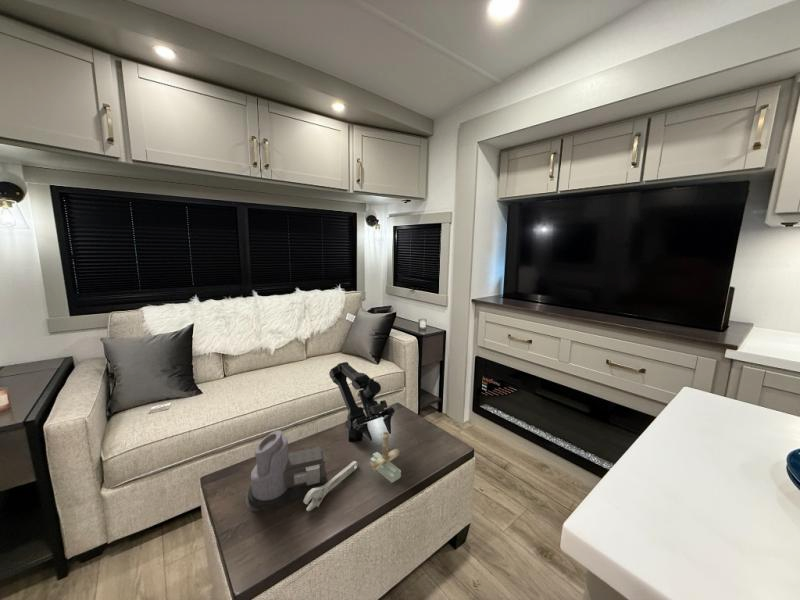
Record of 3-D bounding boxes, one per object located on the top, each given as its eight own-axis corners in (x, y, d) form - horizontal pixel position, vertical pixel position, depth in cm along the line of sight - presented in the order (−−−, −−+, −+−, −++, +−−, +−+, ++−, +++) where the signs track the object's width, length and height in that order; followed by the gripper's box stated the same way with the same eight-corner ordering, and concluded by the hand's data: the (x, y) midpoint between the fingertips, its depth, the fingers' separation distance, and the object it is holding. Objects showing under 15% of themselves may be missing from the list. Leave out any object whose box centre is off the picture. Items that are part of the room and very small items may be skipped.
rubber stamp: (373, 470, 125) (374, 442, 123) (370, 467, 127) (370, 439, 124) (399, 455, 134) (400, 428, 132) (395, 452, 136) (396, 426, 134)
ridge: (370, 464, 135) (370, 455, 134) (379, 459, 138) (379, 450, 137) (391, 483, 125) (391, 473, 124) (400, 477, 128) (401, 467, 127)
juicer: (242, 517, 108) (236, 454, 104) (247, 483, 123) (242, 427, 118) (329, 495, 118) (328, 437, 114) (324, 466, 133) (323, 414, 129)
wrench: (357, 473, 134) (306, 518, 107) (354, 471, 135) (302, 516, 108) (359, 455, 133) (307, 496, 107) (355, 453, 134) (303, 494, 108)
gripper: (355, 401, 128) (368, 439, 121) (393, 389, 138) (407, 424, 131) (347, 410, 135) (359, 447, 129) (383, 398, 146) (396, 432, 139)
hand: (381, 437), depth 132 cm, fingers open, 9 cm apart
